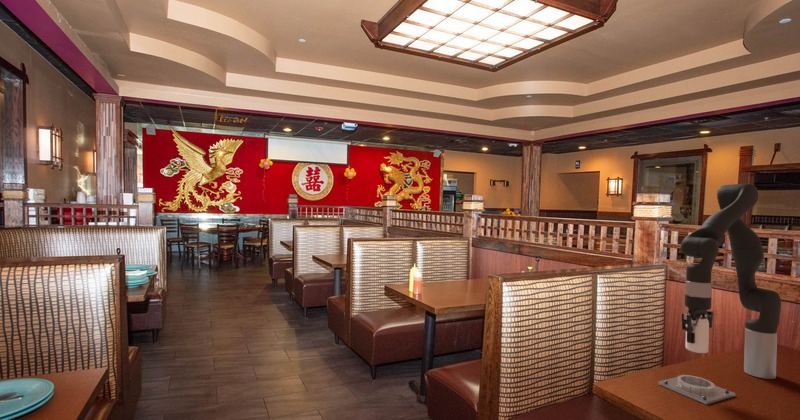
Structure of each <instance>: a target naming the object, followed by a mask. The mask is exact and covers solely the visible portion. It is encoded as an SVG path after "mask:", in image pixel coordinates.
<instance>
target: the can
mask: <svg viewBox="0 0 800 420" xmlns="http://www.w3.org/2000/svg"><path fill="white" fill-rule="evenodd" d="M697 319H698V318H696V320H697ZM707 319H708V318H706V319H705V318H702V319H699V321H698V327H696V330H695V332H694V333H695V343H693V344H692V343H688V342H687V331H685V349H686V350H687V351H689V352H692V353H697V354H702V355H703V354H707V353H708V352H709V344H710V343H709V342H710V341H709V339H710V328H709V321H708V320H707ZM691 323H693V324H695V323H696V321H694V320H691ZM686 326H687V324H686ZM691 326H692V325H691ZM692 327H693V326H692Z"/></svg>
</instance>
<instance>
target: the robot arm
mask: <svg viewBox="0 0 800 420" xmlns="http://www.w3.org/2000/svg"><path fill="white" fill-rule="evenodd" d="M716 197H717V198H716V199H717V203H718V207H719V210H718V211H716V212H714V213H713V214H711V215H710V216H708V218H706V220H705V221H704V222H703V223H702V225H701V226H700V227H699V228H697V229H695V230H694V231H693V232H690V233H689V234H688V235H686V236H685V237H684V238H683V240H682V241H681V244H680V251H681V252H682V254H684V256H686V257H691V258H701V260H700V261H699V262H698V263H689V264H688V265H687V266H686V269H685V270H686V274H685V286H684V306H685V307H687V309H688V310H687V312H686V313H684V312H682V313H681V330H682V331H685V332H686V331H687V342H688V343H692V344H693V343H695V333H694V332H695V330H696V327H698V321H699V319H702V318H705V319H706V318H708V319H707V320H708V322H709V329H712V328H713V320H714V318H713V317H714V311H713V310H711V309H712V300H713V299H712V298H713V297H712V296H713V294H712V293H713V292H712V291H713V289H712V288H713V287H712V270H713V268H714V267H713V266H714V264H715V261H716V258H717V256H718V253H719V249H720V247H719V244H718V242H719V241H720V240H721V239H722V238H723V237H724V236H725V234H726V232H727V235H728V239H729V245H730V249H731V255H732V258H733V261H734V267H735V271H736V276H737V277H736V278H737V285H738V286H737V287H738V288H737V289H738V296H739V301H740V303H741V305H742V307H743V308H745V309H747V310H748V311H753V312H757V313H759V315H758V318H756V319H755V318H754V319H753V318H752V319H746V320H745V321H744V322H745V323H744V353H743V354H744V356H743V359H744V360H743V371H744V373H745V374H747V375H750V376H753V377H756V378H760V379H764V380H765V379H767V380H773V379H774V380H775V379H776V378H777V352H778V351H777V348H778V346H777V345H778V342H777V341H778V339H777V338H778V329H779V325H780V320H781V309H782V299H781V295H780V294H779V293H778V292H777V291H775V290H771V289H765V288H761V287H758V286H757V283H756V273H757V270H759V267H760V266H761V264H762V262H763V260H764V257H765V254H764V253H765V252H764V247H763V243H762V239H761V238H760V237H759V235H758V234H757V233H756V232H755V231H754V230H753V229H752V228H751V227H750V226H749V225H748V224H746V223H745V221H743V219H742V218H741V217H742V216H744V215H745V214H746V213H747V212H749V211H750V210H751V209H752V208H754V207H755V205H756V204H757V203H758V200H759V191H758V188H757V186H755V184H752V183H735V184H734V183H733V184H732V183H731V184H723V185H721V186H719V187H718V189H717V192H716ZM696 318H698V319H697V320H696ZM691 320H694V321H696V323H695V324H693V323H691ZM686 324H687V326H686ZM691 325H692V326H693V327H692V326H691Z"/></svg>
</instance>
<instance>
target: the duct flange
mask: <svg viewBox="0 0 800 420" xmlns="http://www.w3.org/2000/svg"><path fill="white" fill-rule="evenodd" d="M657 384H658V386H661V387H663V388H666V389H669V390H670V391H672V392H675V393H678V394H680V395H682V396H684V397H687V398H690V399H692V400H694V401H697V402H699V403H702V404H704V405H706V406H707V405H710V404H714V403H716V402H720V401H724V400H726V399H730V398H733V397H736V392H733V391H730V390H729V389H725V388H722V387H720V386H717V385H715V383H713V382H712V381H710V380H708V379H705V378H703V377H700V376H694V375H690V374H681V375H678V376H676V377H675V376H674V377H671V378H667V379H663V380H658V381H657Z"/></svg>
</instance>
